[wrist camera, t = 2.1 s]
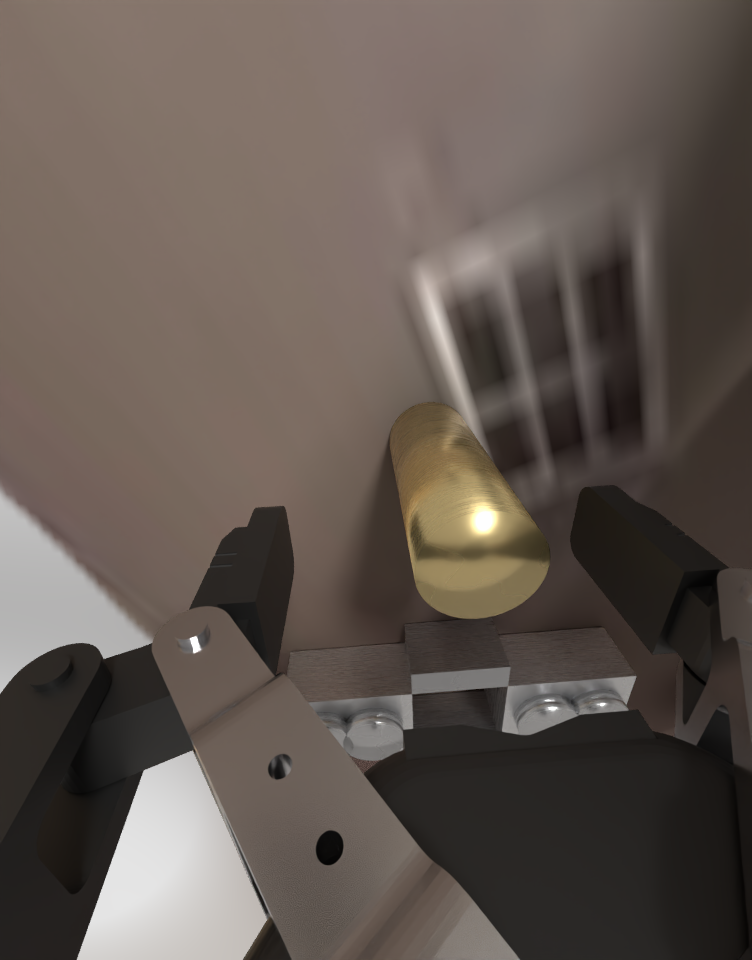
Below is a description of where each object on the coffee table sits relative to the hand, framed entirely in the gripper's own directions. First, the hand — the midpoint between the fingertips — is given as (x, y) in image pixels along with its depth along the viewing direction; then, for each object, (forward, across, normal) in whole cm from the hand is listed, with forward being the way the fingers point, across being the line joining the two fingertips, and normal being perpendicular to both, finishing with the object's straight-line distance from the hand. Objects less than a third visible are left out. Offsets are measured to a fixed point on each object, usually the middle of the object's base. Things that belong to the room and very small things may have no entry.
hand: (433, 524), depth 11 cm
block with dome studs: (+6, -2, +14) cm, 16 cm away
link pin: (+6, -1, 0) cm, 6 cm away
